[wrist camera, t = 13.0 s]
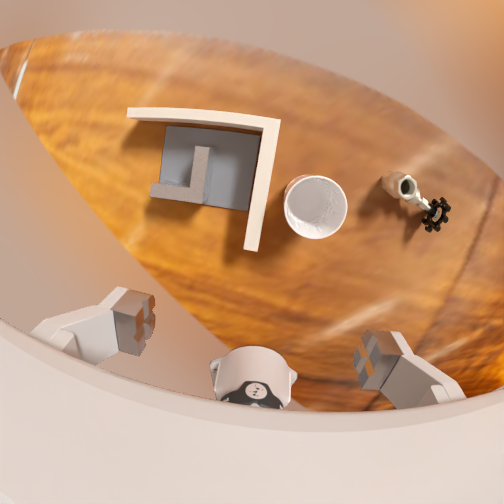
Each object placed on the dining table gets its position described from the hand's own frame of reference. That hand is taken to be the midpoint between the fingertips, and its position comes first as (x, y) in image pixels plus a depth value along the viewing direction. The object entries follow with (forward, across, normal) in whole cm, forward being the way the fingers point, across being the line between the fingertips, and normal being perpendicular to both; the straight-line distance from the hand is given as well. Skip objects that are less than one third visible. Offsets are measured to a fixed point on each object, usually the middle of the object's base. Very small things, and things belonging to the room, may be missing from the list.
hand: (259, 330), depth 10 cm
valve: (+34, +24, +5) cm, 42 cm away
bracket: (+34, -12, +2) cm, 36 cm away
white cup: (+34, +6, +1) cm, 35 cm away
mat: (+34, -10, +3) cm, 36 cm away
